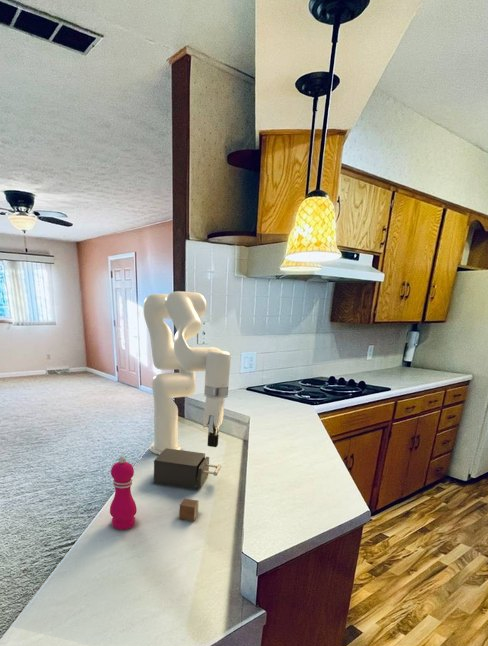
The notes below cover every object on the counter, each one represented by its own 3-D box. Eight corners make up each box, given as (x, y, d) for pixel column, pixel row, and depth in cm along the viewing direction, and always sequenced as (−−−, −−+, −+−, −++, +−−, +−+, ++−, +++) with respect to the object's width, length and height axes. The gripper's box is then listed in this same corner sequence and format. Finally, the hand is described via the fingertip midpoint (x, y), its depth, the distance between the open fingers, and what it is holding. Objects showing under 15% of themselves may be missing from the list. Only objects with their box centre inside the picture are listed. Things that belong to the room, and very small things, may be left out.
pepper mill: (131, 532, 110) (130, 463, 102) (105, 528, 111) (103, 460, 104) (140, 519, 117) (140, 454, 109) (116, 515, 118) (114, 450, 110)
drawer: (221, 476, 146) (223, 458, 143) (215, 489, 135) (216, 470, 133) (172, 469, 149) (172, 451, 147) (162, 481, 139) (162, 463, 136)
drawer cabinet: (204, 475, 148) (205, 453, 145) (195, 490, 136) (196, 466, 133) (165, 470, 151) (166, 448, 147) (153, 483, 139) (153, 460, 136)
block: (183, 511, 122) (184, 498, 121) (198, 513, 122) (198, 500, 120) (179, 518, 118) (179, 504, 117) (194, 521, 117) (194, 507, 116)
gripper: (209, 385, 137) (206, 437, 144) (198, 394, 123) (196, 451, 130) (232, 388, 135) (227, 440, 142) (223, 397, 122) (219, 455, 129)
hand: (212, 445), depth 136 cm, fingers closed
